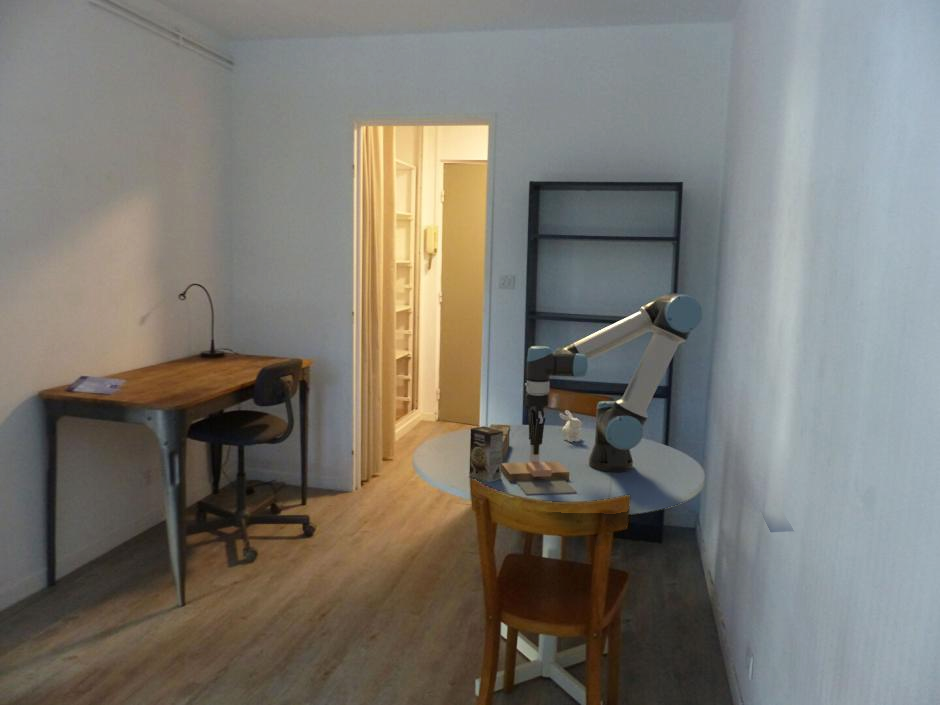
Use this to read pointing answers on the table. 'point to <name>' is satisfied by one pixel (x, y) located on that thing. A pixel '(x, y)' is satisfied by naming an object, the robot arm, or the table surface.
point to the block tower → (505, 437)
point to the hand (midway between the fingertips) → (534, 463)
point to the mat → (545, 487)
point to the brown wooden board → (521, 473)
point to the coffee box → (486, 453)
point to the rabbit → (571, 427)
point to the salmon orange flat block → (538, 469)
